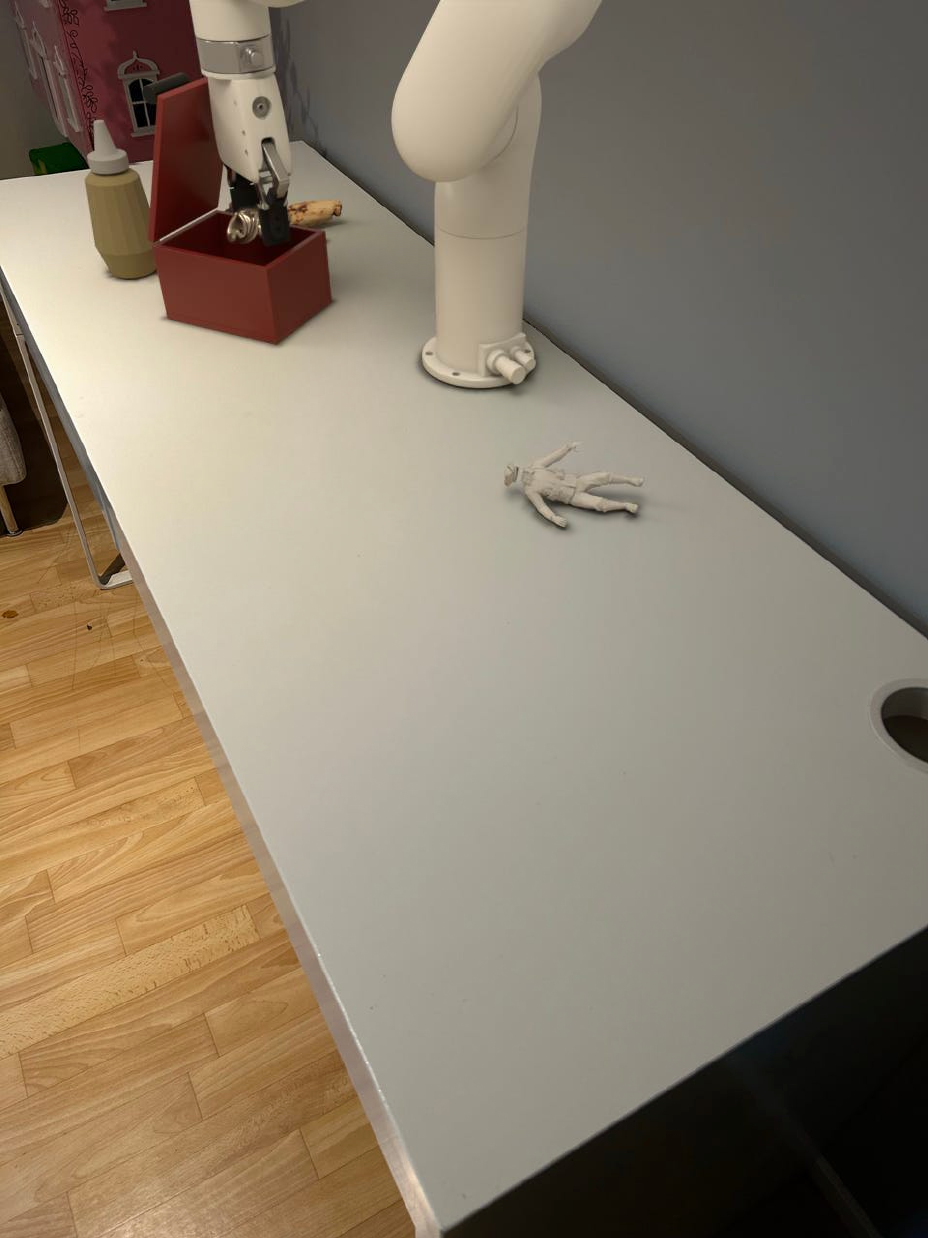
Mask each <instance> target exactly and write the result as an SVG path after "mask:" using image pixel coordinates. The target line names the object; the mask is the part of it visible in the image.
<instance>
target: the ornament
mask: <svg viewBox="0 0 928 1238" xmlns="http://www.w3.org/2000/svg"><path fill="white" fill-rule="evenodd" d="M260 208H261V205H259V204H256V205H254V206H252V205H248V206H246V207H241V208H240V209H239V210H237V211H236V212H235V213H234V216H233V217H232V218H231V220H230V222H229V224H228V227H227V232H226V235H227V239H228V241H229V242H230V243H231V244H235V243H240V244H247V243H250V242H252V241H253V240H254V239H255V238H256V237H257V236H259V237H260V238H262V234H261V227H260V220H259V214H258V209H260ZM288 220H289V224H290V223H291V214H290V213H288ZM240 232H241V233H240Z"/></svg>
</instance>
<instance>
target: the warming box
mask: <svg viewBox="0 0 928 1238" xmlns="http://www.w3.org/2000/svg"><path fill="white" fill-rule="evenodd" d="M233 216H234V213H230V212H225V210H219V209H214V210H212V211H211V212H209V213H207V214H205V215H203V216H202V217H200V218H198V219H196V220H194V221H193V222H191V223H189V224H187V225H185V226H184V227H182V228H180V229H178V230H176V231H175V232H173V233H171V234H169V235H167V236H166V237H164V238H162V239H160V241H159V242H158V243H156V244H154V245H152V250H153V255H154V259H155V264H156V273H157V278H158V282H159V286H160V291H161V295H162V300H163V304H164V309H165V314H166V318H167V319H168V320H172V321H176V322H181V323H185V324H190V325H193V326H196V327H202V328H206V329H210V330H214V331H219V332H222V333H227V334H231V335H235V336H239V337H243V338H244V337H245V338H248V339H251V340H256V341H260V342H264V343H269V344H272V345H275V346H276V345H277V346H278V345H279V344H280V343H281V342H283V340H285V339H286V338H288V337H289V336H290V335H291V334H293V333H294V332H295V331H296V330H298V329H299V328H300V327H301V326H303V325H304V324H305V323H307V322H308V321H309V320H311V319H312V318H314V317H315V316H316V315H317V314H319V312H321V311H322V310H323V309H326V307H327V306H329V305H331V303H332V302H333V297H332V289H331V278H330V267H329V254H328V243H327V235H326V234H327V233H326V230H323V229H319V228H313V227H303V226H297V225H292V224H289V227H290V235H291V240H290V241H289V242H286V243H282V244H278V245H273V246H269V247H267V246H265V245H264V244H263V240H262V238H260V237H259V236H257V237H256V238H255V239H254V240H253V241H252V242H250V243H247V244H240V243H235V244H231V243H230V242H229V241H228V239H227V235H226V232H227V227H228V224H229V222H230V220H231V218H232V217H233ZM240 233H241V232H240Z"/></svg>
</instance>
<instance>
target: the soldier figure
mask: <svg viewBox="0 0 928 1238" xmlns="http://www.w3.org/2000/svg"><path fill="white" fill-rule="evenodd" d="M584 444H585V443H584V442H582V441H574V442H570V443H568V444H565V445H564V446H562V447H560V448H559V449H556V450H553V451H552V452H551V453H549V454H547V455H545V456H544V457H542V458H539V459H536V460H534V461H532V462H531V464H530V465H529V467H528V469H526V470H524V469H525V467H524V468H522V467H520V466H519V467H518V466H516V465H515V464H514V463H513V461H511V462H508V463H506V468H504V469H505V470H504V473H503V475H504V480H503V481H504V486H506V488H509V486H511V484H513V483H516V482H517V480H518V476H519V474H521V478H520V481H521V483H522V484H524V494H525V495H526V497H527V498H528V500H529V501H530V502H531V503H532V504H533V505H534V507H535V508H536V509H537V511H538V513H540V514H541V515H542V516H543V517H544V518H546V519H547V520H549V521H550V522H552V523H555V524H556V525H557V526H559V527H563V528H565V527H566V525H567V523H568V522H567V518H565V517H562V516H559V515H556V513H555V512H554V511H552V510H551V509H550V507H549V505H547V503H545V501H544V499H543V496H545V497H546V499H548V500H550V501H552V502H555V501H558V502H563V503H564V504H565V505H572V506H575V507H579V508H583V509H593V510H594V509H595V510H596V511H598V512H603V513H606V512H608V511H613V510H614V511H615V510H623V509H625V510H626V511H627V512H628V511H629V512H630V513H632V514H636V513H637V511H638V508H639V504H636V503H632V502H630V501H623V502H621V501H615V500H611V499H610V500H609V499H608V498H606V497H603V496H597V495H592V494H589V493H587V491H588V490H591V489H594V488H598V487H601V486H608V485H615V484H616V485H620V484H621V485H622V484H627V485H631V486H633V487H635V488H636V487H637V488H641V487H642V486H643V484H644V480H645V478H644V477H630V476H628V475H623V474H619V473H615V472H612V471H610V470H607V471H594V472H591V473H587V474H585V475H582V476H579V477H576V475H574V474H569V473H565V470H564V469H563V468H559V467H554V469H551V468H549V467H551V466H552V465H553V464H555V463H557V462H559V461H561V460H562V459H563V458H564V457H565V456H567V455H568V454H569V453H570V452H571V451H573V452H577V453H578V452H579V450H578V449H576V448H577V447H583V446H584Z"/></svg>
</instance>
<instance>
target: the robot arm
mask: <svg viewBox="0 0 928 1238" xmlns="http://www.w3.org/2000/svg"><path fill="white" fill-rule="evenodd" d="M188 1H189V6H190V13H191V18H192V24H193V31H194V36H195V42H196V47H197V53H198V58H199V65H200V70H201V71H200V72H201V75H203V76H204V77H208V86H209V96H210V104H211V112H212V120H213V126H214V133H215V138H216V143H217V148H218V152H219V156H220V158H221V160H222V161H223V162H224V163H223V164H224V165H223V167H225V169H226V182H227V185H228V187H229V194H230V202H232V207H233V213H235V212H236V211H237V210H239V209H240V208H241V207H246V206H248V205H252V206H254V205H256V204H259V205H261V208H260V209H258V214H259V220H260V227H261V234H262V240H263V244H264V245H265V246H267V247H269V246H273V245H278V244H282V243H286V242H289V241H290V240H291V235H290V227H289V220H288V212H287V207H289V206H288V205H289V201H288V194H289V187H290V183H291V180H290V177H291V176H292V175H293V172H294V165H293V159H292V157H293V156H292V152H291V144H290V138H289V132H288V126H287V122H286V115H285V111H284V107H283V105H284V104H283V101H282V97H281V92H280V88H279V84H278V81H277V78H276V75H275V72H276V70H277V68H276V58H275V51H274V43H273V35H272V28H271V20H270V11H269V8H285V7H290V6H294V5H297V4H299V3H302V2H306V0H188ZM602 2H603V0H439V2H438V4H437V6H436V8H435V10H434V12H433V13H432V16H431V18H430V20H429V22H428V24H427V26H426V28H425V30H424V32H423V34H422V36H421V38H420V40H419V42H418V44H417V46H416V48H415V50H414V51H413V54H412V56H411V58H410V60H409V62H408V64H407V66H406V68H405V70H404V72H403V74H402V77H401V79H400V81H399V82H398V86H397V88H396V91H395V93H394V98H393V102H392V108H391V132H392V137H393V141H394V144H395V146H396V150H397V152H398V153H399V156H400V157H401V159H402V161H403V162H404V163H405V165H406V166H407V168H409V169H410V170H411V171H412V172H413V173H415V174H416V175H418V176H419V177H421V178H423V179H425V180H428V181H431V182H435V183H434V206H433V207H434V221H433V223H434V226H433V227H434V228H433V229H434V231H433V232H434V235H433V236H434V292H435V293H434V297H435V299H434V300H435V301H434V302H435V336H434V337H432V338H430V339H429V340H428V341H427V342H426V343H425V345H423V348H422V352H421V357H422V358H421V359H422V365H423V367H424V369H425V371H427V373H428V374H429V375H431V376H432V377H433V378H435V379H437V380H438V381H440V382H444V383H446V384H449V385H452V386H457V387H462V388H470V389H490V388H497V387H502V386H507V385H510V384H514V385H518V384H520V383H522V382H523V381H524V380H525V378H526V376H527V375H528V374H529V373H530V372H531V371H533V370H534V369H535V367H536V365H537V360H536V359H535V351H534V348H533V346H531V344H530V343H529V342H528V341H527V339H526V337H527V335H526V334H525V333H524V332H523V315H524V299H525V278H526V261H527V242H528V225H529V212H530V195H531V183H532V174H533V167H534V159H535V153H536V147H537V142H538V136H539V130H540V125H541V118H542V117H541V116H542V104H543V103H542V102H543V101H542V96H543V95H542V88H541V87H542V86H541V80H540V76H539V72H540V71H541V69H542V68H543V67H544V65H545V64H546V63H547V62H548V61H549V60H551V59H552V58H554V57H556V56H557V55H558V54H560V53H561V52H563V51H564V50H566V49H568V48H569V47H570V46H572V45H573V44H574V43H575V42H576V41H577V40H578V39H579V38H580V37H581V36H582V35H583V34H584V32H585V31H586V30H587V28H588V27H589V25H590V24H591V22H592V20H593V18H594V16H595V14H596V13H597V11H598V9H599V7H600V6H601V4H602ZM265 172H269V174H270V175H267V176H261V175H260V174H261V173H265ZM270 184H271V185H272V186H271V187H269V188H268V190H267V192H266V190H265V187H264V186H265V185H270Z"/></svg>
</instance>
